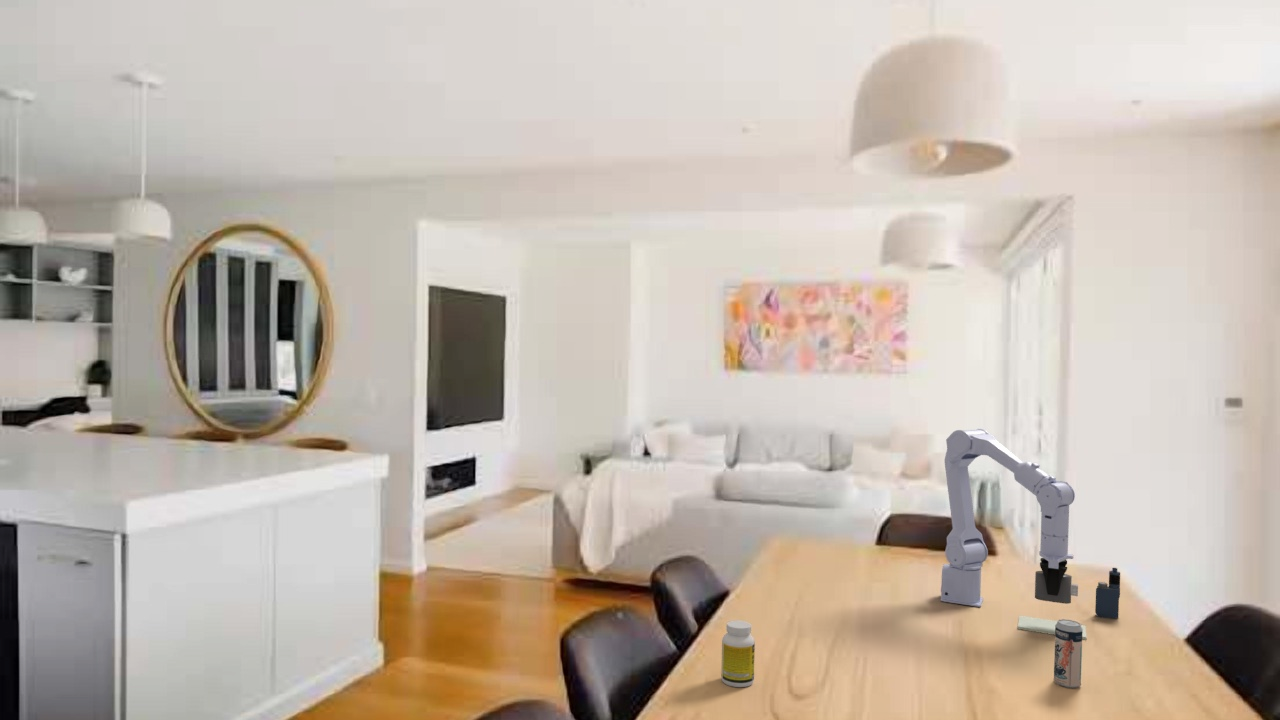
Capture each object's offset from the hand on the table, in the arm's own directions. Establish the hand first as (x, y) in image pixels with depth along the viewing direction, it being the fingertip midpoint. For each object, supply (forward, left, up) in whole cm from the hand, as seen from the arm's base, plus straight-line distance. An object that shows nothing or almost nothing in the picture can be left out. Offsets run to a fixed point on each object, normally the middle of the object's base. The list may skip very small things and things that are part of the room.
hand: (1052, 592), depth 192 cm
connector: (0, 0, -2) cm, 2 cm away
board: (0, 0, -8) cm, 8 cm away
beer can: (+3, -35, -9) cm, 36 cm away
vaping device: (+12, +17, -9) cm, 23 cm away
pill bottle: (-53, -66, -9) cm, 85 cm away
